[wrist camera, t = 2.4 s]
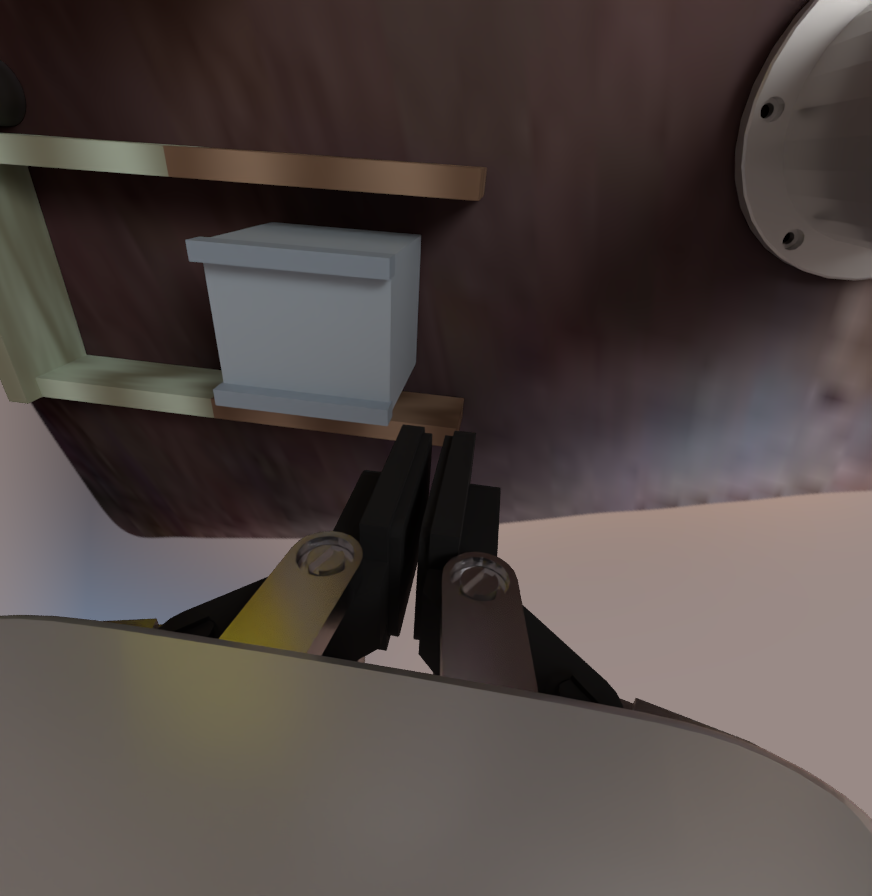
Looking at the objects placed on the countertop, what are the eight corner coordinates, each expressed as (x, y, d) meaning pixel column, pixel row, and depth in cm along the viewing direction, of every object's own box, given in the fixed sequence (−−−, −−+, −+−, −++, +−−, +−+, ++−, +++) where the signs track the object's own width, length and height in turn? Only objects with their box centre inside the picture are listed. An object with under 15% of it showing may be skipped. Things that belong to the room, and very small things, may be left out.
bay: (503, -7, 21) (494, -126, 12) (462, 416, 31) (440, 514, 22) (-71, -30, 23) (-419, -143, 14) (65, 369, 33) (-93, 441, 24)
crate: (423, 232, 25) (389, 258, 19) (417, 365, 29) (387, 426, 22) (270, 219, 26) (185, 239, 19) (283, 350, 30) (215, 405, 23)
